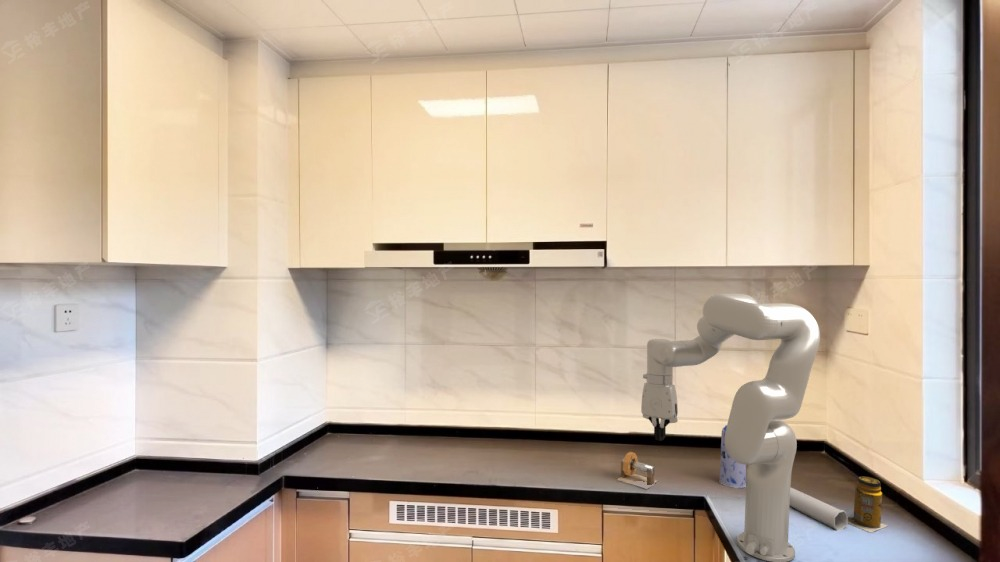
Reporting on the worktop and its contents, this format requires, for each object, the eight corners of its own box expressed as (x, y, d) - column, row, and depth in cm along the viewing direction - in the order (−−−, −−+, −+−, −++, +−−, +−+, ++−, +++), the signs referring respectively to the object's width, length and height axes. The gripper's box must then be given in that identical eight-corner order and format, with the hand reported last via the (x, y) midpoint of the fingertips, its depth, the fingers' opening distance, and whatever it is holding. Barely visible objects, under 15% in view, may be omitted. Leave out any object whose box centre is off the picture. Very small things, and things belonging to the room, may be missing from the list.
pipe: (650, 476, 162) (650, 466, 162) (621, 467, 168) (621, 458, 168) (654, 473, 164) (655, 464, 164) (625, 465, 171) (625, 456, 171)
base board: (646, 490, 160) (647, 472, 160) (617, 480, 167) (617, 463, 166) (657, 482, 166) (658, 465, 166) (628, 473, 173) (629, 457, 173)
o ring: (627, 477, 165) (628, 457, 165) (622, 476, 166) (623, 455, 166) (637, 471, 170) (637, 451, 170) (632, 470, 171) (632, 450, 171)
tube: (755, 480, 161) (832, 516, 137) (768, 472, 162) (846, 507, 139) (759, 495, 161) (836, 534, 138) (771, 488, 163) (849, 525, 140)
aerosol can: (716, 477, 171) (718, 416, 171) (742, 479, 170) (744, 418, 170) (722, 487, 164) (724, 423, 163) (749, 489, 162) (751, 425, 162)
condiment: (887, 526, 141) (889, 482, 141) (871, 533, 137) (873, 488, 137) (858, 514, 147) (860, 472, 147) (841, 521, 143) (843, 477, 143)
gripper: (631, 378, 163) (631, 437, 163) (679, 384, 154) (679, 447, 153) (642, 375, 169) (642, 432, 169) (688, 380, 159) (688, 441, 159)
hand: (659, 439), depth 161 cm, fingers closed
